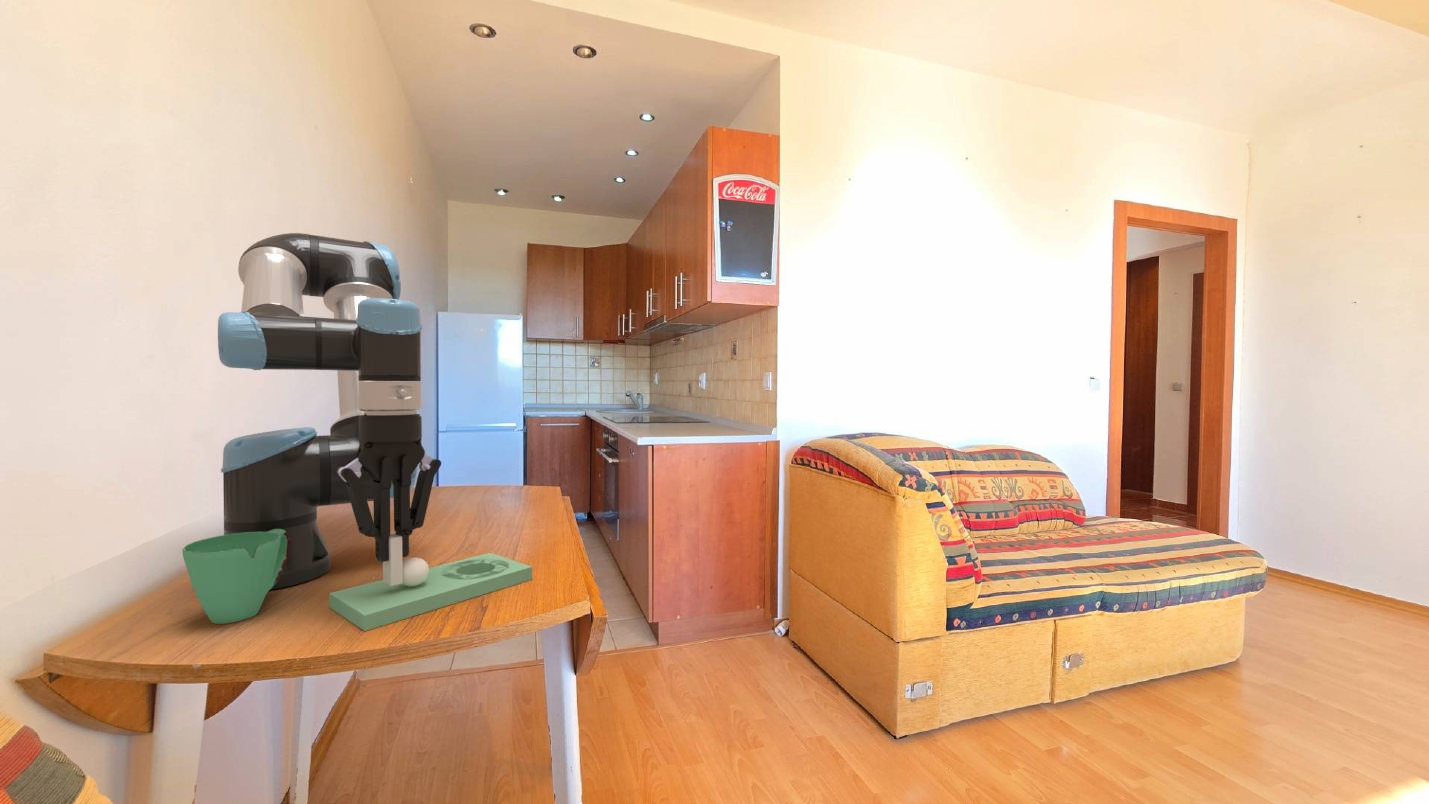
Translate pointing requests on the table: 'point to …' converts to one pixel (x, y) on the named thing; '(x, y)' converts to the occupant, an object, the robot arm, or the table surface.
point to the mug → (236, 572)
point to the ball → (414, 571)
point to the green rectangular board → (427, 590)
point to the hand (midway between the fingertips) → (392, 582)
